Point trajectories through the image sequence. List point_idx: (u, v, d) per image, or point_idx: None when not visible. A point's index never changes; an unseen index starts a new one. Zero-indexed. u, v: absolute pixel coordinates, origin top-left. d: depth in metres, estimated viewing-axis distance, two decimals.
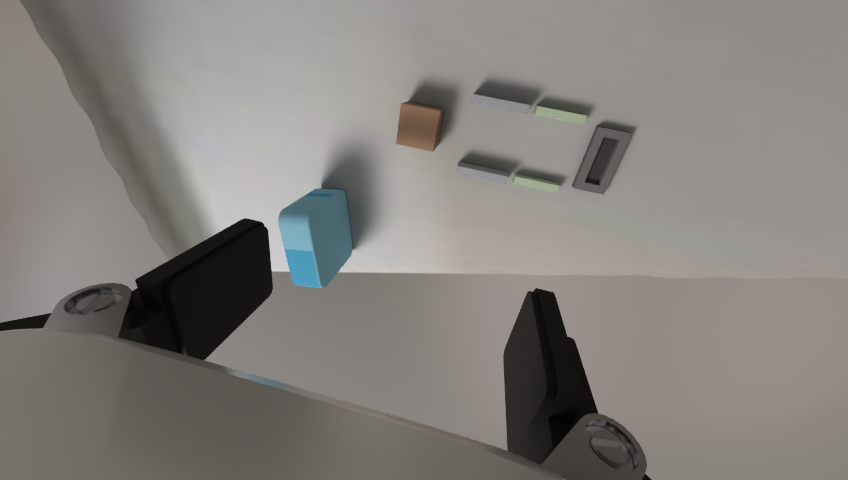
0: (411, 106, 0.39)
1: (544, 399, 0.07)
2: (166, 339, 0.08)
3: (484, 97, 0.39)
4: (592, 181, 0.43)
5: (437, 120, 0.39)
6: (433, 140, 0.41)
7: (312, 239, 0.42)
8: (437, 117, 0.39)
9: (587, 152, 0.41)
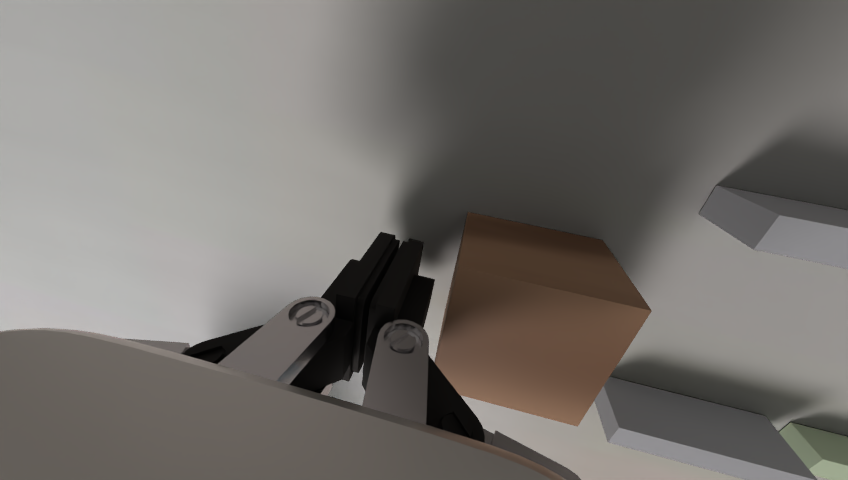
0: (506, 281, 0.08)
1: (369, 311, 0.08)
2: (349, 347, 0.09)
3: (837, 231, 0.08)
4: None
5: (626, 340, 0.09)
6: (588, 398, 0.10)
7: None
8: (630, 331, 0.08)
9: None
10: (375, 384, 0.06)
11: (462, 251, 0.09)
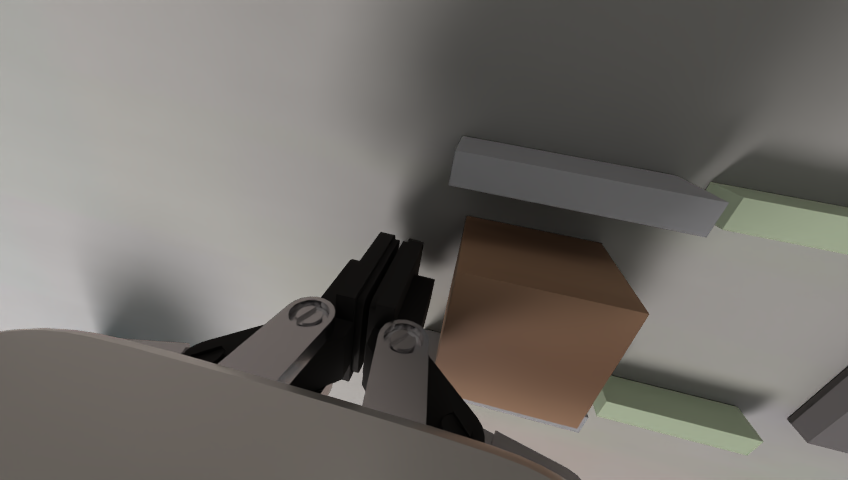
0: (505, 285, 0.08)
1: (369, 311, 0.08)
2: (349, 347, 0.09)
3: (506, 164, 0.09)
4: None
5: (624, 343, 0.09)
6: (587, 400, 0.10)
7: None
8: (628, 334, 0.08)
9: None
10: (375, 384, 0.06)
11: (461, 255, 0.09)
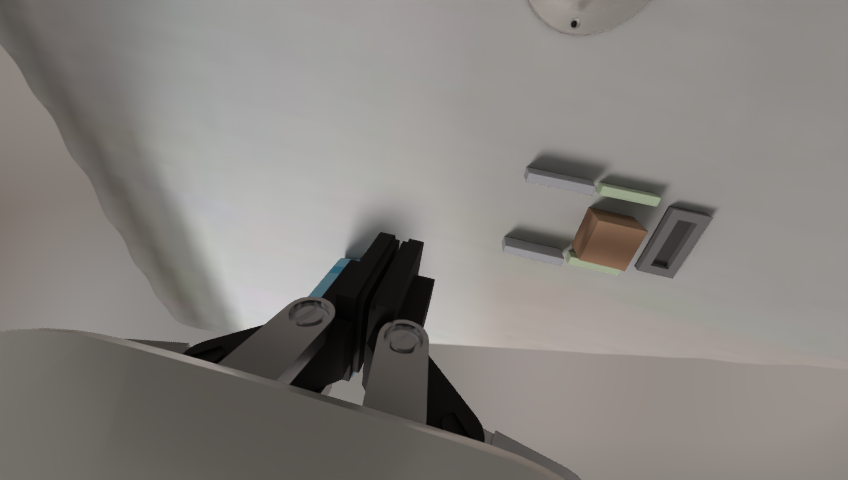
0: (611, 224, 0.33)
1: (369, 311, 0.08)
2: (349, 347, 0.09)
3: (542, 176, 0.33)
4: (659, 263, 0.38)
5: (641, 240, 0.33)
6: (629, 260, 0.34)
7: None
8: (642, 237, 0.33)
9: (656, 234, 0.36)
10: (375, 384, 0.06)
11: (596, 217, 0.34)
